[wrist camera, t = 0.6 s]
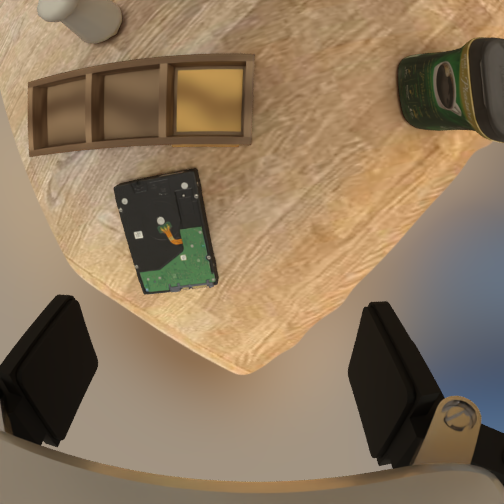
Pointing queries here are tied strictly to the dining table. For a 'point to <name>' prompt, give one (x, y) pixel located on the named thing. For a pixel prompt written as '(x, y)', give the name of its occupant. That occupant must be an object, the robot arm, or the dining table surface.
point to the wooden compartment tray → (144, 104)
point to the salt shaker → (84, 17)
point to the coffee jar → (456, 89)
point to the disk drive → (167, 232)
